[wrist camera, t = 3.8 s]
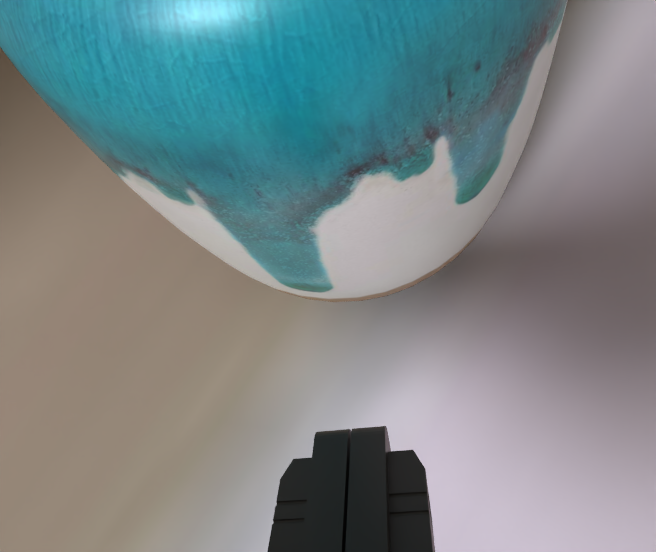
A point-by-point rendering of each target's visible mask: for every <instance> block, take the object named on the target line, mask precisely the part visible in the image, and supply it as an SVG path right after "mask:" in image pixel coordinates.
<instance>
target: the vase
mask: <svg viewBox="0 0 656 552" xmlns="http://www.w3.org/2000/svg"><path fill="white" fill-rule="evenodd" d="M566 4H567V0H0V47H1V48H2V50H3V51H4V52H5V54H6V55H7V56H8V58H9V59H10V60H11V62H12V63H13V64H14V66H15V67H16V68H17V70H18V71H19V72H20V73H21V74H22V75H23V77H24V78H25V79H26V80H27V81H28V83H29V84H30V85H31V86H32V87H33V88H34V90H35V91H36V92H37V93H38V94H39V95H40V97H41V98H42V99H43V100H44V101H45V102H46V104H47V105H48V106H49V107H50V108H51V109H52V110H53V111H54V112H55V113H56V114H57V115H58V116H59V117H60V118H61V119H62V120H63V121H64V123H65V124H66V125H67V126H68V127H69V128H70V129H71V130H72V131H73V132H74V133H75V134H76V135H77V136H78V137H79V138H80V139H81V140H82V141H83V142H84V143H85V144H86V145H87V146H88V147H89V148H90V149H91V150H92V151H93V152H94V153H95V154H96V155H97V156H98V157H99V158H100V159H101V160H102V161H103V162H104V163H105V164H106V165H107V166H108V167H109V168H110V169H111V170H112V171H113V172H114V173H116V174H117V175H118V176H119V177H120V178H121V179H122V180H123V181H124V182H125V183H126V184H127V185H128V186H129V187H130V188H132V189H133V190H134V191H135V192H136V193H137V194H138V195H139V196H141V197H142V198H143V199H144V200H145V201H146V202H147V203H149V204H150V205H151V206H152V207H153V208H154V209H155V210H156V211H158V212H159V213H160V214H161V215H162V216H164V217H165V218H166V219H167V220H169V221H170V222H171V223H172V224H173V225H175V226H176V227H177V228H178V229H179V230H181V231H182V232H183V233H184V234H186V235H187V236H189V237H190V238H191V239H193V240H194V241H196V242H197V243H198V244H200V245H201V246H202V247H204V248H205V249H207V250H208V251H210V252H211V253H213V254H214V255H215V256H217V257H218V258H220V259H221V260H223V261H224V262H226V263H227V264H229V265H230V266H232V267H234V268H235V269H237V270H238V271H240V272H242V273H244V274H245V275H247V276H249V277H251V278H253V279H255V280H257V281H259V282H262V283H264V284H266V285H268V286H270V287H272V288H274V289H277V290H279V291H282V292H285V293H288V294H292V295H296V296H299V297H303V298H306V299H313V300H322V301H330V302H343V301H363V300H368V299H373V298H378V297H383V296H388V295H390V294H393V293H396V292H399V291H401V290H404V289H407V288H409V287H412V286H414V285H415V284H417V283H419V282H421V281H423V280H424V279H426V278H428V277H430V276H432V275H434V274H435V273H437V272H438V271H439V270H441V269H442V268H443V267H444V266H446V265H447V264H448V263H450V262H451V261H452V260H454V259H455V258H456V257H457V256H458V255H459V254H460V253H461V252H462V251H463V250H464V249H465V248H466V247H467V246H468V245H469V244H470V243H471V242H472V241H473V240H474V238H475V237H476V236H477V235H478V233H479V232H480V230H481V229H482V227H483V226H484V224H485V223H486V221H487V220H488V219H489V217H490V216H491V214H492V213H493V211H494V210H495V208H496V207H497V205H498V203H499V201H500V199H501V197H502V195H503V193H504V191H505V189H506V187H507V185H508V183H509V181H510V178H511V176H512V174H513V172H514V170H515V167H516V165H517V163H518V161H519V159H520V157H521V154H522V152H523V150H524V147H525V145H526V142H527V140H528V137H529V134H530V132H531V129H532V126H533V123H534V120H535V117H536V114H537V111H538V108H539V104H540V101H541V98H542V95H543V91H544V88H545V84H546V81H547V77H548V73H549V70H550V66H551V62H552V59H553V55H554V52H555V48H556V44H557V40H558V36H559V32H560V28H561V25H562V21H563V17H564V13H565V9H566Z"/></svg>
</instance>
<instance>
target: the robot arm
mask: <svg viewBox="0 0 656 552" xmlns="http://www.w3.org/2000/svg"><path fill="white" fill-rule="evenodd" d="M273 521H274V524H272V530H271V536H270V541H269V547H268V552H435V546H434V536H433V526H432V517H431V509H430V502H429V494H428V487H427V479H426V472H425V468H424V466H423V465H422V463H421V462H420V460H419V459H418V457H417V455H416V454H415V452H414V451H413V450H406V451H392V452H391V450H390V444H389V438H388V432H387V428H386V426H382V427H370V428H357V429H352V431H351V430H350V429H347V430H335V431H323V432H316V434H315V438H314V446H313V454H312V458H302V459H293V461H292V462H291V464H290V465H289V467H288V468H287V470H286V471H285V473H284V475H283V476H282V478H281V479H280V485H279V490H278V496H277V506H276V507H275V513H274V519H273Z"/></svg>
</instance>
